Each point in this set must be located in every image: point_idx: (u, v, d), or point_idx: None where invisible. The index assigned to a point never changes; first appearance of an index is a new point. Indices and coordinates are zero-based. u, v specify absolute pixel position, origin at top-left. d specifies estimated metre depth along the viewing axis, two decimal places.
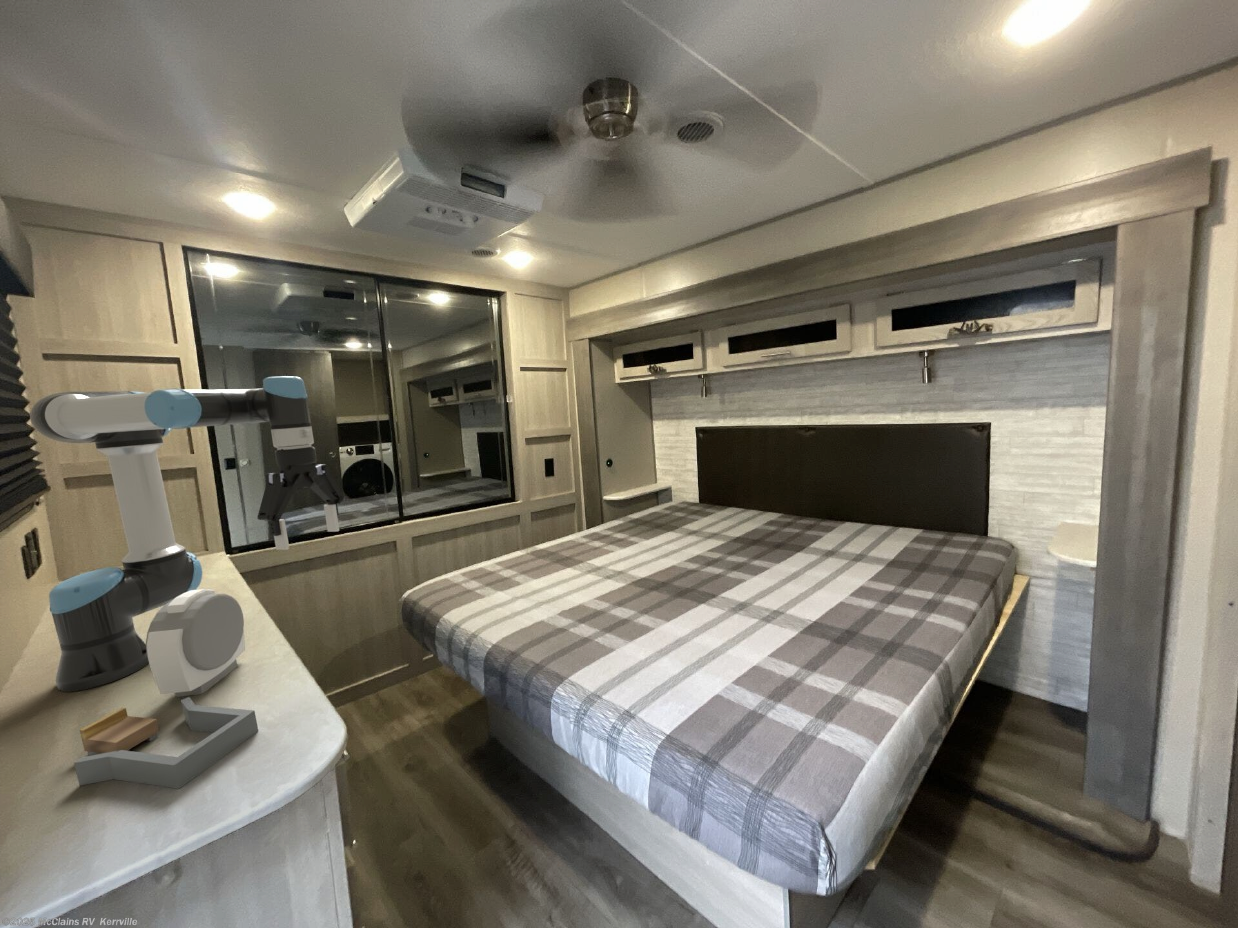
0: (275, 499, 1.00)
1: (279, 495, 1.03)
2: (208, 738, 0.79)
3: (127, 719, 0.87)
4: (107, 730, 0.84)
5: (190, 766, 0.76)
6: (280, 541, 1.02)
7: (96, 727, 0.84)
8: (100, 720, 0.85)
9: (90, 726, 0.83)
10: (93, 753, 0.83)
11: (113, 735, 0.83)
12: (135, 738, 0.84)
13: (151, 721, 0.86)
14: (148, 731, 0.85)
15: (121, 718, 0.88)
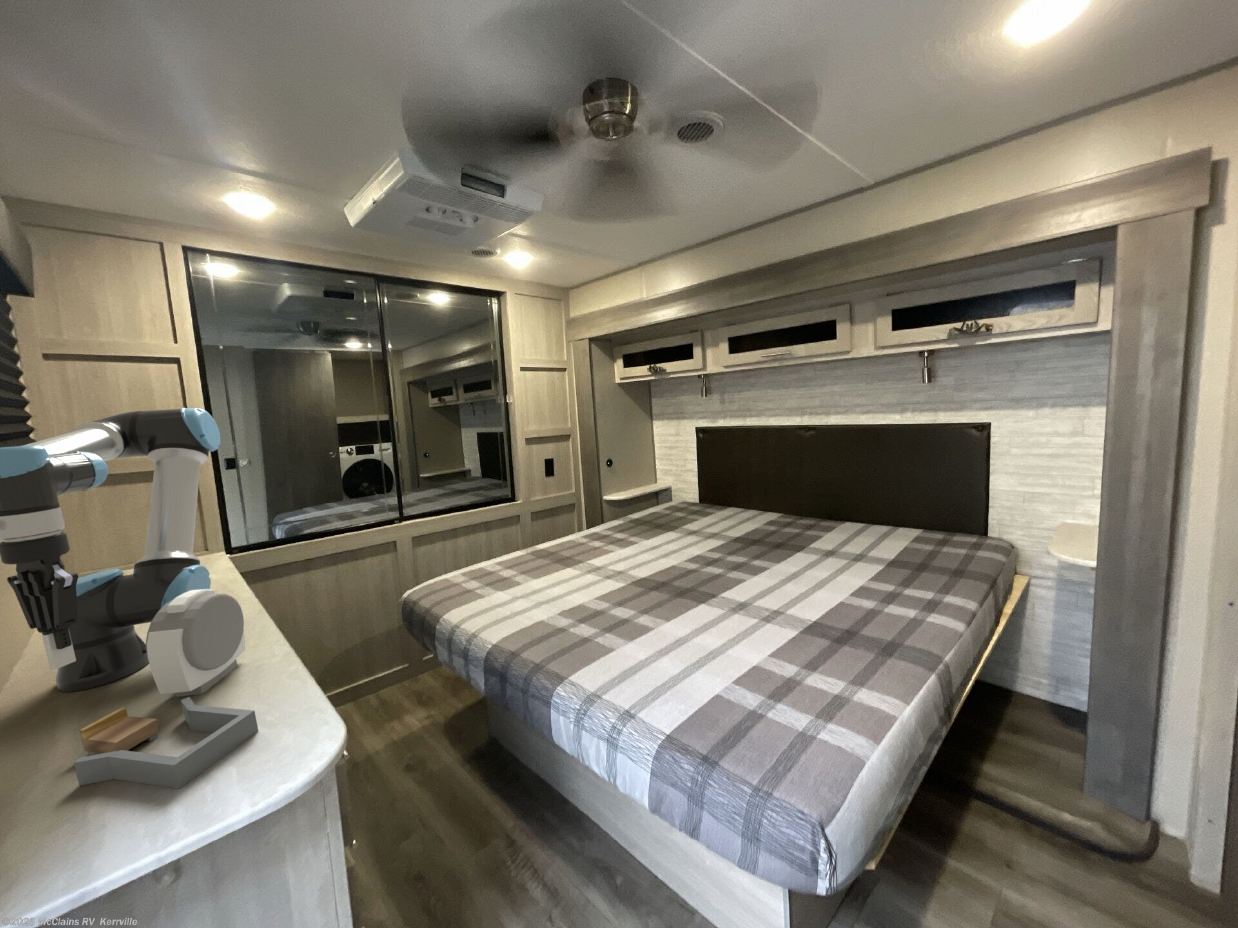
0: (23, 605, 0.83)
1: None
2: (208, 738, 0.79)
3: (127, 719, 0.87)
4: (107, 730, 0.84)
5: (190, 766, 0.76)
6: None
7: (96, 727, 0.84)
8: (100, 720, 0.85)
9: (90, 726, 0.83)
10: (93, 753, 0.83)
11: (113, 735, 0.83)
12: (135, 738, 0.84)
13: (151, 721, 0.86)
14: (148, 731, 0.85)
15: (121, 718, 0.88)
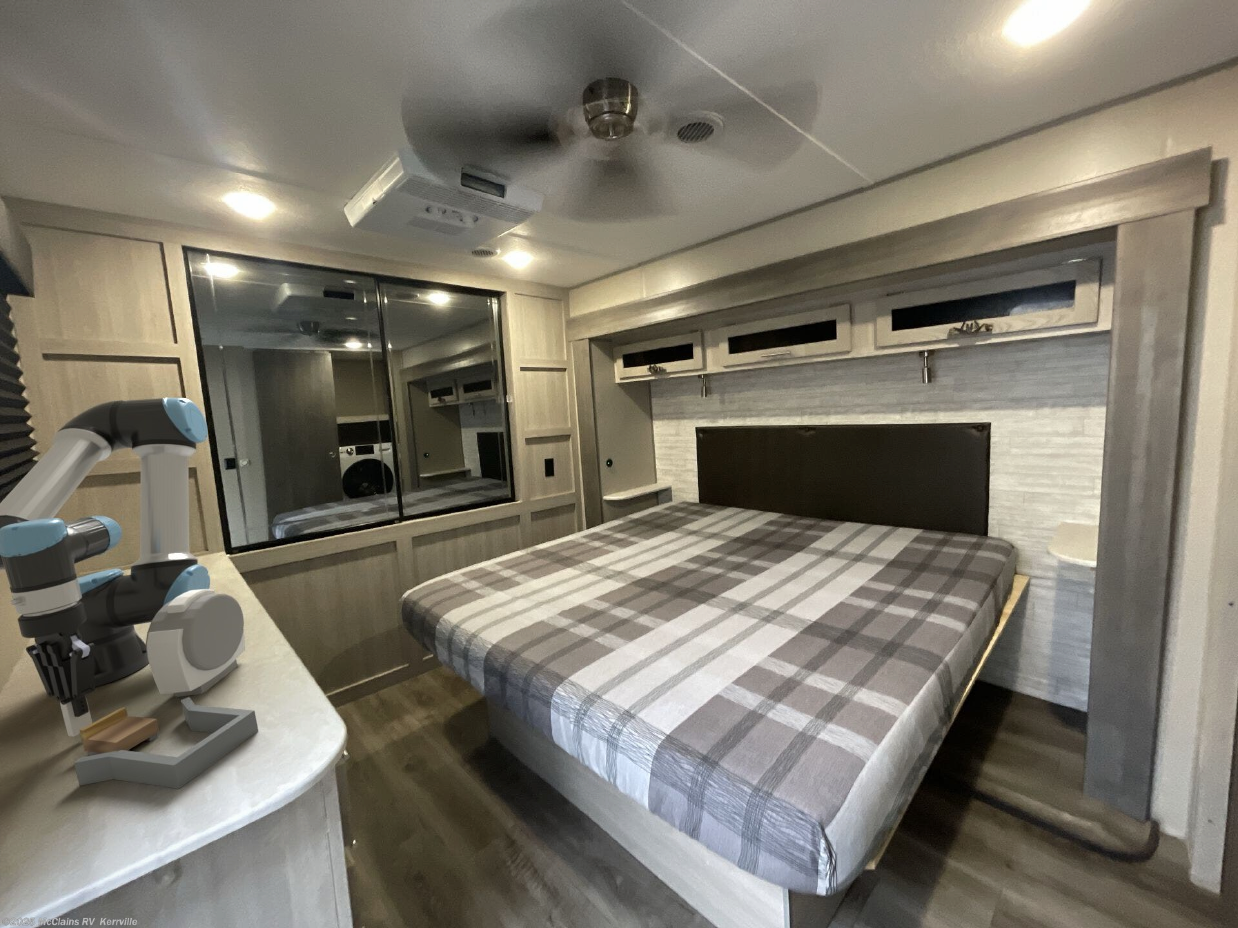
0: (42, 674, 0.85)
1: None
2: (208, 738, 0.79)
3: (127, 719, 0.87)
4: (106, 730, 0.84)
5: (190, 766, 0.76)
6: None
7: (96, 727, 0.84)
8: (100, 720, 0.85)
9: (90, 726, 0.83)
10: (93, 753, 0.83)
11: (113, 735, 0.83)
12: (135, 738, 0.84)
13: (151, 721, 0.86)
14: (148, 731, 0.85)
15: (121, 718, 0.88)
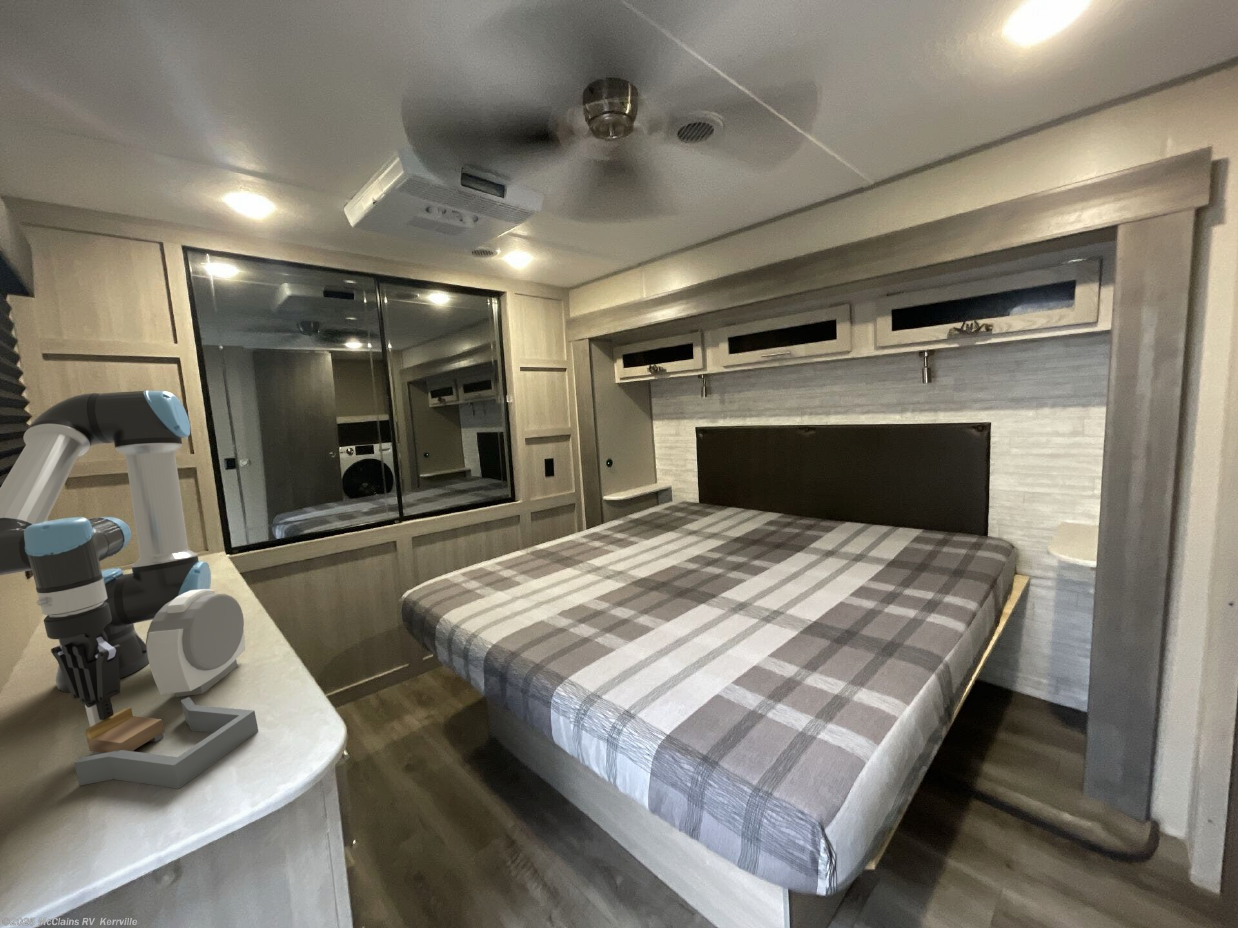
0: (67, 676, 0.84)
1: None
2: (208, 738, 0.79)
3: (132, 719, 0.87)
4: (112, 730, 0.84)
5: (190, 766, 0.76)
6: None
7: (101, 727, 0.84)
8: (105, 720, 0.85)
9: (95, 726, 0.83)
10: (98, 753, 0.83)
11: (118, 735, 0.82)
12: (140, 738, 0.83)
13: (156, 721, 0.86)
14: (153, 731, 0.85)
15: (126, 718, 0.87)
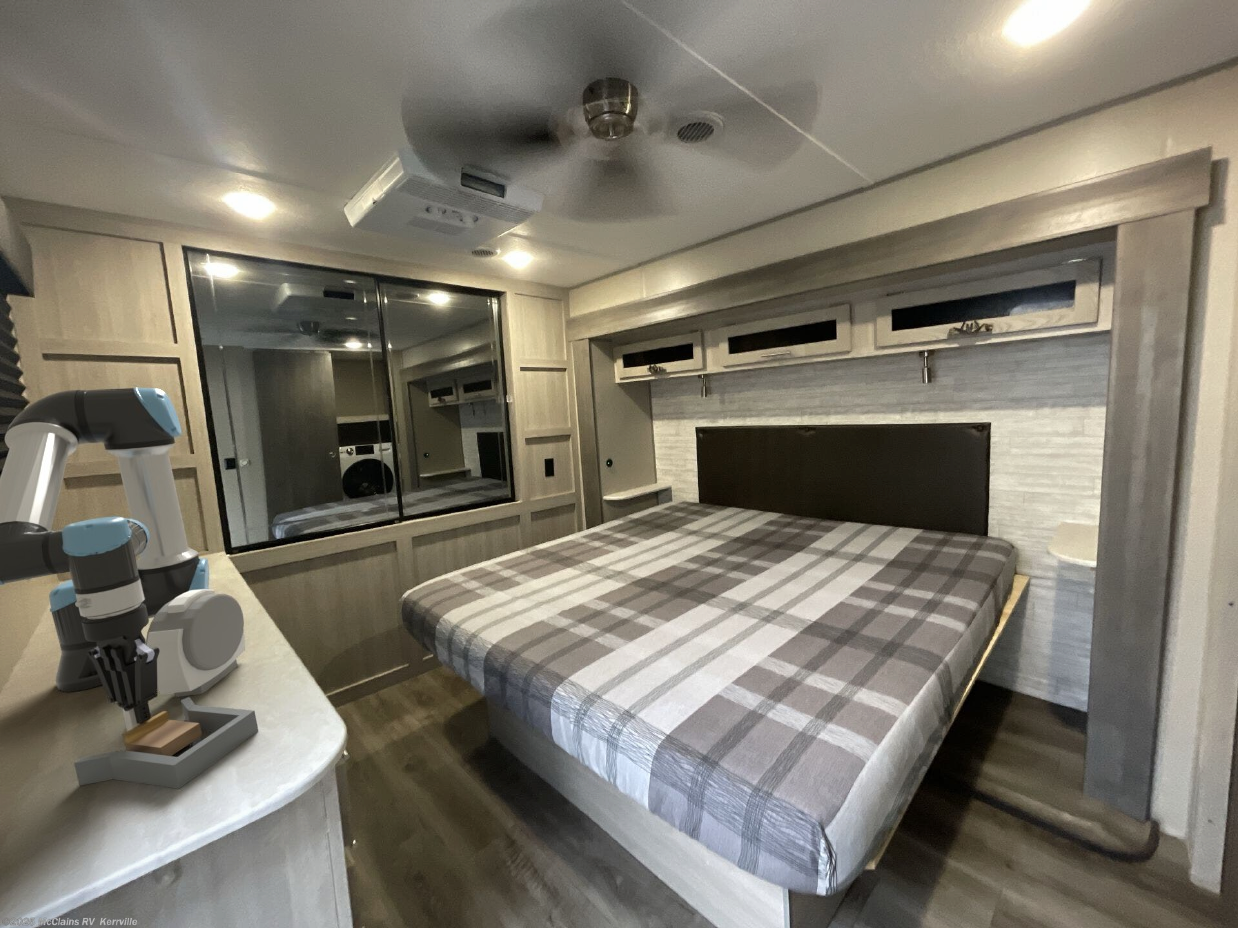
0: (104, 679, 0.82)
1: None
2: (208, 738, 0.79)
3: (169, 723, 0.85)
4: (149, 734, 0.82)
5: (190, 766, 0.76)
6: None
7: (139, 731, 0.82)
8: (142, 724, 0.83)
9: (133, 730, 0.81)
10: None
11: (156, 740, 0.81)
12: (179, 743, 0.81)
13: (194, 725, 0.84)
14: (191, 735, 0.83)
15: (163, 722, 0.85)
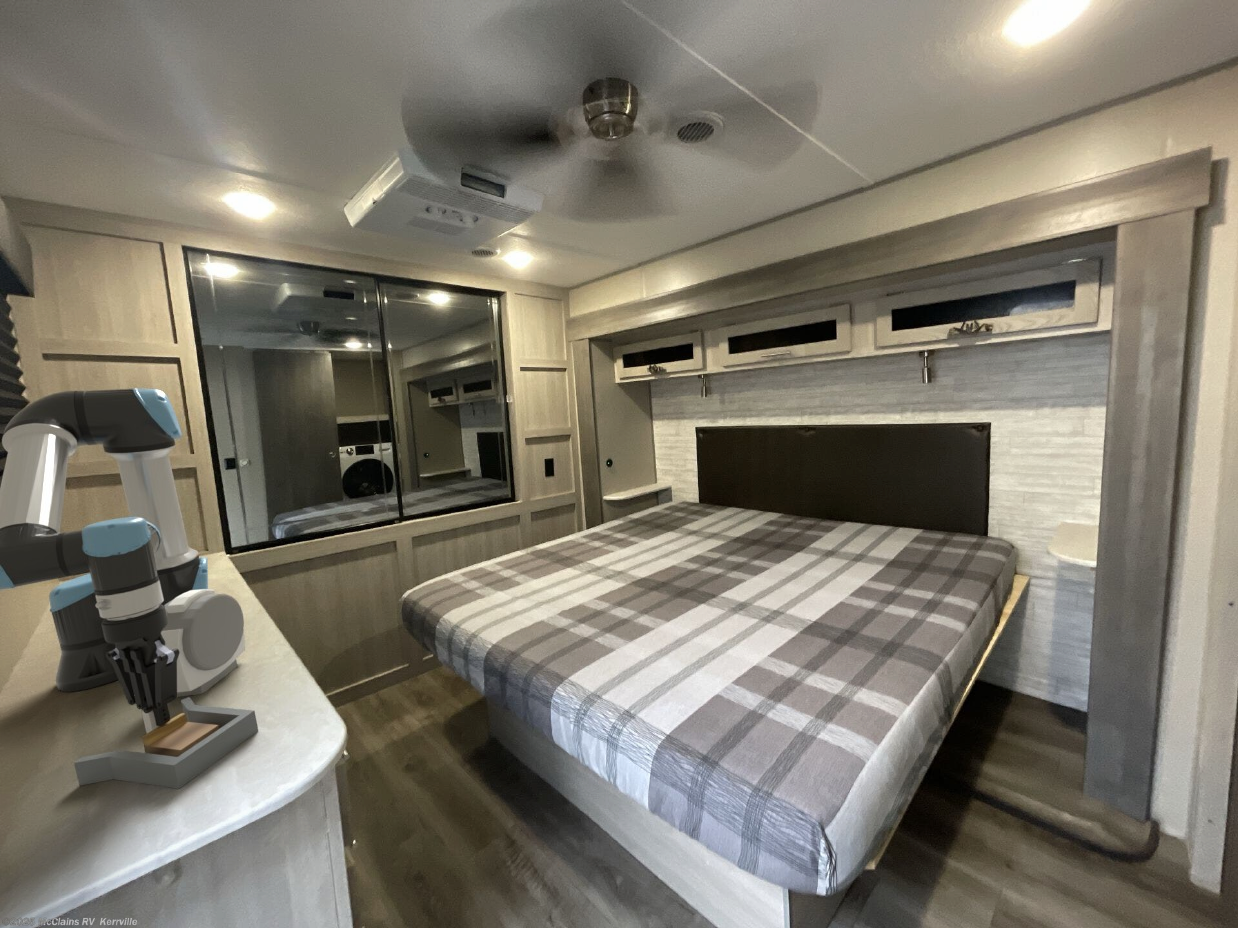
0: (123, 681, 0.81)
1: None
2: (208, 738, 0.79)
3: (188, 725, 0.84)
4: (168, 737, 0.81)
5: (190, 766, 0.76)
6: None
7: (158, 733, 0.81)
8: (161, 726, 0.82)
9: (152, 732, 0.80)
10: None
11: (176, 742, 0.80)
12: None
13: (213, 727, 0.83)
14: None
15: (181, 724, 0.84)
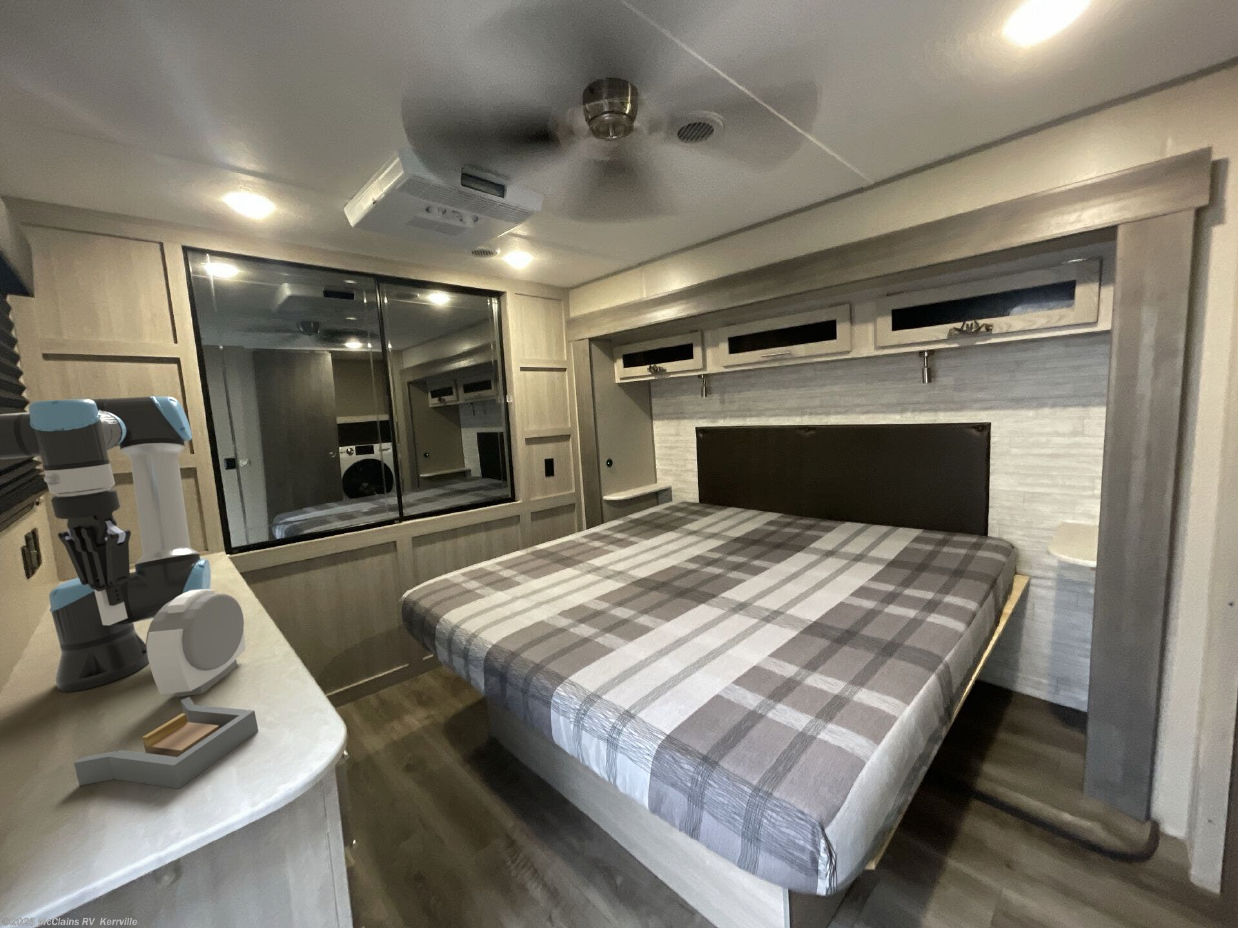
0: (75, 561, 0.83)
1: None
2: (208, 738, 0.79)
3: (188, 726, 0.84)
4: (169, 737, 0.81)
5: (190, 766, 0.76)
6: None
7: (158, 734, 0.81)
8: (162, 726, 0.82)
9: (153, 733, 0.80)
10: None
11: (177, 743, 0.80)
12: None
13: (214, 727, 0.83)
14: None
15: (182, 725, 0.84)
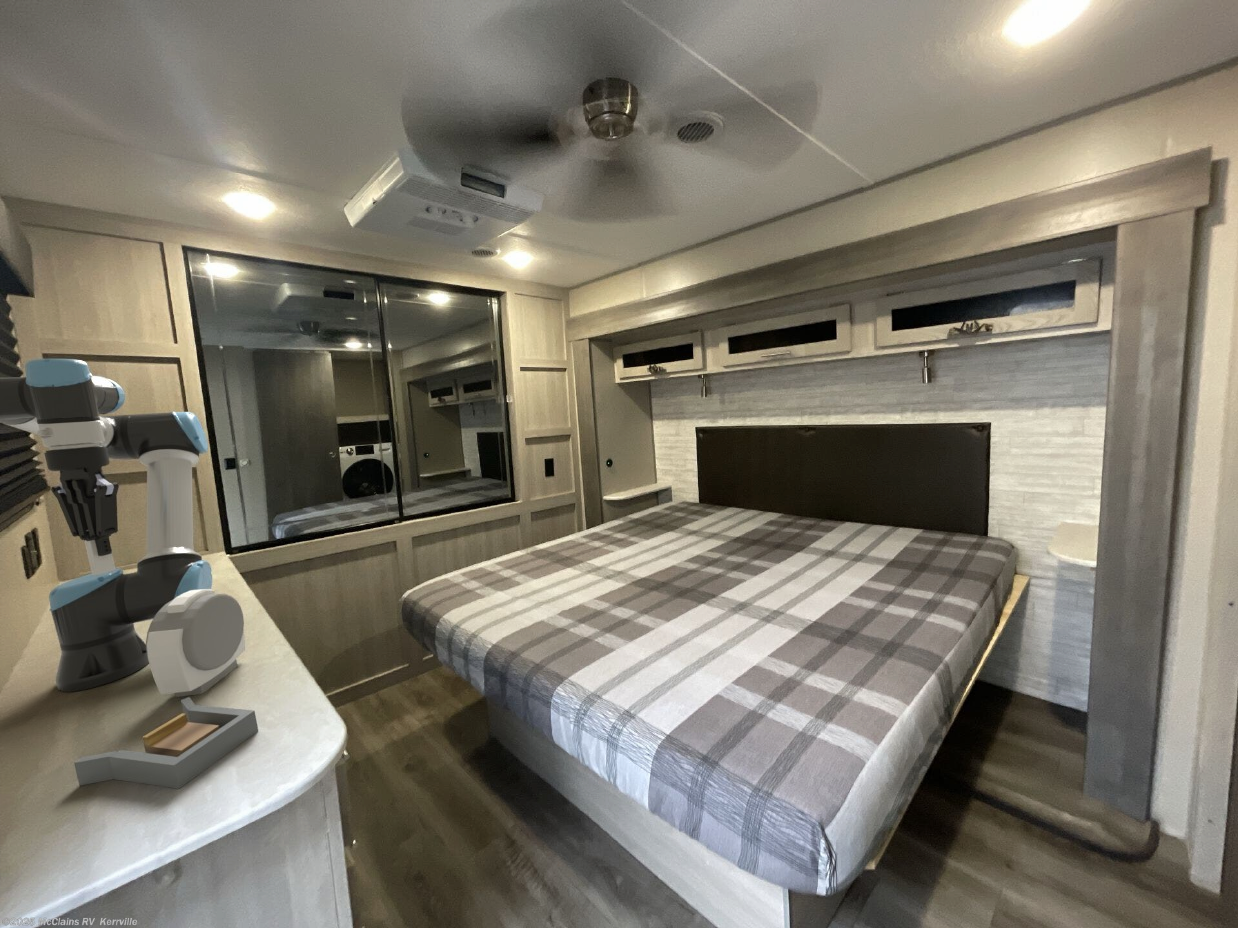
0: (67, 513, 0.88)
1: None
2: (208, 738, 0.79)
3: (188, 726, 0.84)
4: (169, 737, 0.81)
5: (190, 766, 0.76)
6: None
7: (158, 734, 0.81)
8: (162, 726, 0.82)
9: (153, 733, 0.80)
10: None
11: (177, 743, 0.80)
12: None
13: (214, 727, 0.83)
14: None
15: (182, 725, 0.84)
